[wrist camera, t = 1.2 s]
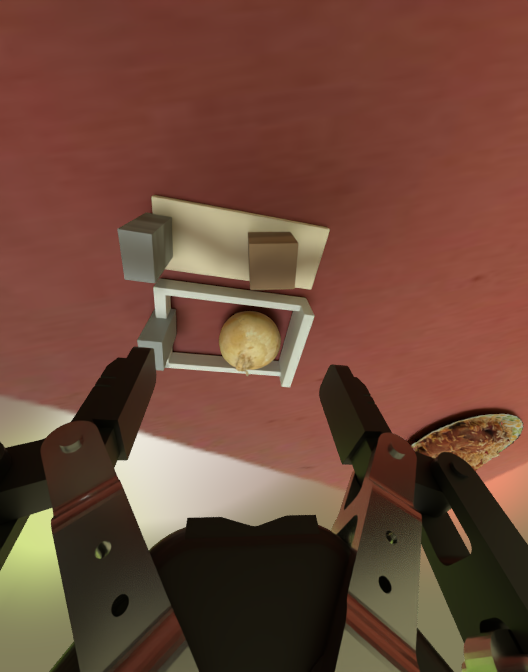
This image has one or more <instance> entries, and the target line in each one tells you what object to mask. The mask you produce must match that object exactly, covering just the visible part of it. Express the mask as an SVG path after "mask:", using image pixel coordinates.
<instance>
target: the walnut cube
mask: <svg viewBox="0 0 528 672" xmlns="http://www.w3.org/2000/svg"><path fill="white" fill-rule="evenodd" d="M298 244H299V243H298V242H297V240H296V239H295V238H294V236H293V235H292V233H291V232H248V259H249V280H250V290H275V289H295V279H296V268H297V256H298Z"/></svg>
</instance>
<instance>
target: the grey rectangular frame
mask: <svg viewBox="0 0 528 672" xmlns="http://www.w3.org/2000/svg"><path fill="white" fill-rule="evenodd" d="M153 288H154V301H155V310H154V311H153V313H152V315H151V317H150V318H149V320H148V322H147V324H146V326H145V327H144V329H143V331H142V333H141V334H140V336H139V338H138V340H137V342H138V347H146V348H153V349H154V353H155V365H156V370H163V371H164V368H178V369H192V370H205V371H218V372H232V373H245V374H246V372H245V371H248V374H259V375H272V376H280V380H281V386H282V387H290V386H291V383H292V380H293V377H294V374H295V371H296V368H297V365H298V362H299V359H300V357H301V354H302V351H303V348H304V345H305V342H306V339H307V336H308V333H309V330H310V327H311V325H312V322H313V319H314V314H313V312H312V309H311V307H310V305H309V303H308V301H307V299H306V298H303V297H295V296H288V295H280V294H273V293H265V292H258V291H250V290H243V289H235V288H228V287H220V286H213V285H205V284H198V283H190V282H183V281H175V280H168V279H160V278H159V279H158V281H157V282H156V284H155V285H154V287H153ZM171 296H177V297H185V298H194V299H202V300H210V301H218V302H226V303H234V304H243V305H251V306H259V307H267V308H275V309H283V310H292V311H293V313H292V316H291V320H290V323H289V327H288V330H287V334H286V337H285V341H284V344H283V348H282V351H281V355H280V358H279V361H272V362H271V363H269V364H268V365H266V366H264V367H262V368H259V369H254V370H245V371H243V372H242V371H238V370H236V368H235V367H234V366H232V365H230V364H229V363H228V362H227V361H226V360H225V359H224V358H223V356H212V355H200V354H188V353H177V352H172V346H173V343H174V340H175V338H176V309H171Z"/></svg>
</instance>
